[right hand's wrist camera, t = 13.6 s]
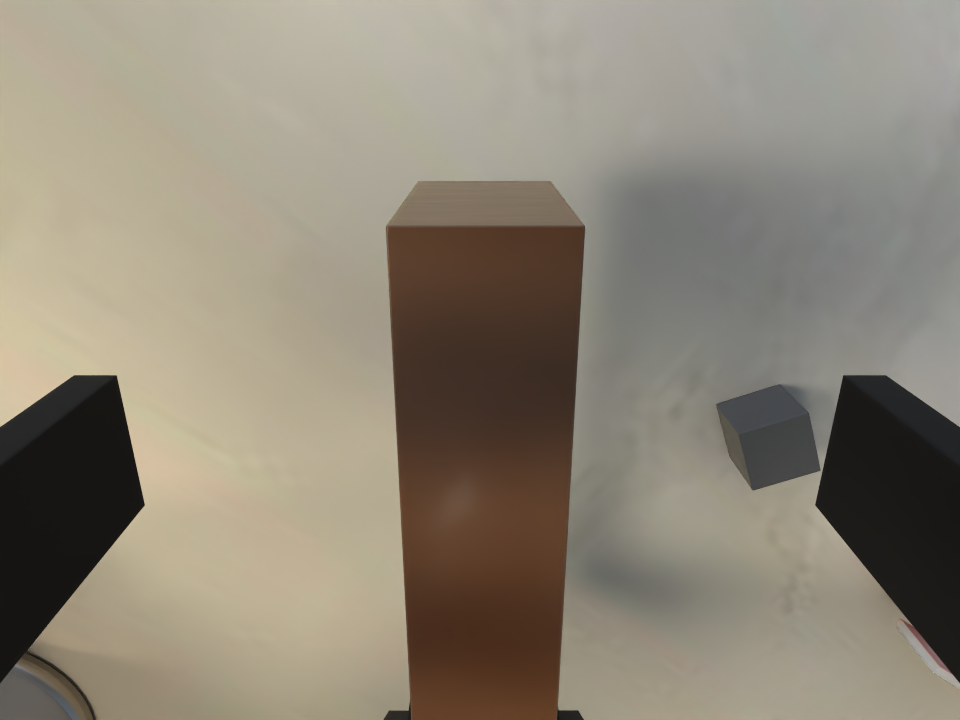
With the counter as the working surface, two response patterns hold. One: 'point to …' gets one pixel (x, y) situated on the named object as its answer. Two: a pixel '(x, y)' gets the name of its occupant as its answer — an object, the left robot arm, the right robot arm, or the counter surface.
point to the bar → (484, 439)
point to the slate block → (768, 437)
